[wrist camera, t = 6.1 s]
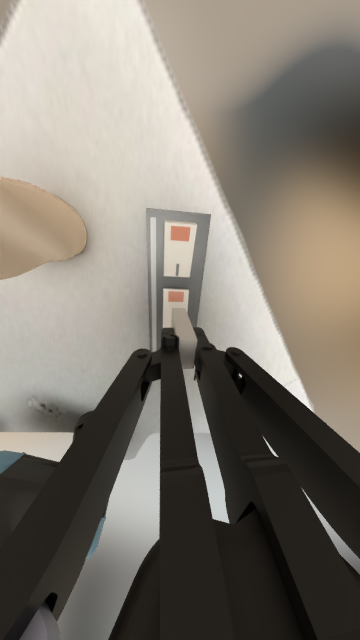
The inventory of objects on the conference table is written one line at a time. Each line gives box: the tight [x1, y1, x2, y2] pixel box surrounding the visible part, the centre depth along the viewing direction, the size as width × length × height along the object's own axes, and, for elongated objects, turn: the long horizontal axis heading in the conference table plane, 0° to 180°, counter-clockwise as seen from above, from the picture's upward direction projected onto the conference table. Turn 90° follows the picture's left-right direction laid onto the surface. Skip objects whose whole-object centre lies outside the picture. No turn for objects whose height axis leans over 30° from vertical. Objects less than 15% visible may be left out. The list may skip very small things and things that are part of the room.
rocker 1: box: [164, 220, 197, 277], centre depth 21 cm, size 4×7×2 cm, turn 176°
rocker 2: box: [163, 288, 189, 328], centre depth 25 cm, size 4×7×2 cm, turn 176°
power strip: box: [146, 208, 211, 352], centre depth 30 cm, size 9×37×4 cm, turn 176°
